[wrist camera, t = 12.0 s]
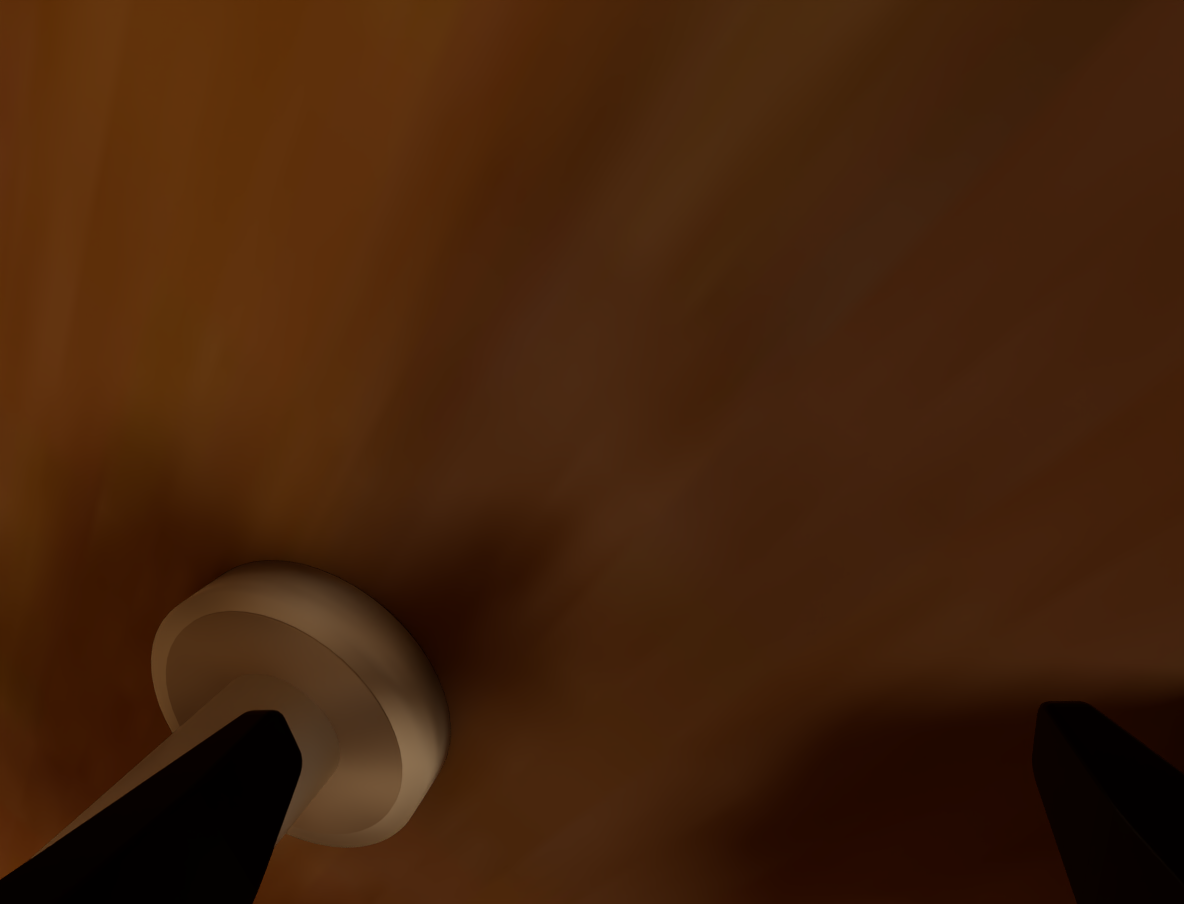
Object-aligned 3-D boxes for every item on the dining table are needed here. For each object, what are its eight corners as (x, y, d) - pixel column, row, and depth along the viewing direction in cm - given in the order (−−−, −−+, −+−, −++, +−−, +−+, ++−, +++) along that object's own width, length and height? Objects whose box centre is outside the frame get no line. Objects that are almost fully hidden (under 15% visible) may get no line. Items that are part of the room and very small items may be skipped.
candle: (360, 737, 26) (-75, 1280, 13) (309, 804, 28) (-99, 1317, 16) (247, 649, 26) (-294, 1107, 13) (206, 724, 28) (-284, 1171, 16)
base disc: (508, 764, 27) (482, 813, 25) (316, 827, 32) (281, 872, 30) (319, 512, 25) (274, 542, 23) (147, 622, 30) (99, 655, 28)
